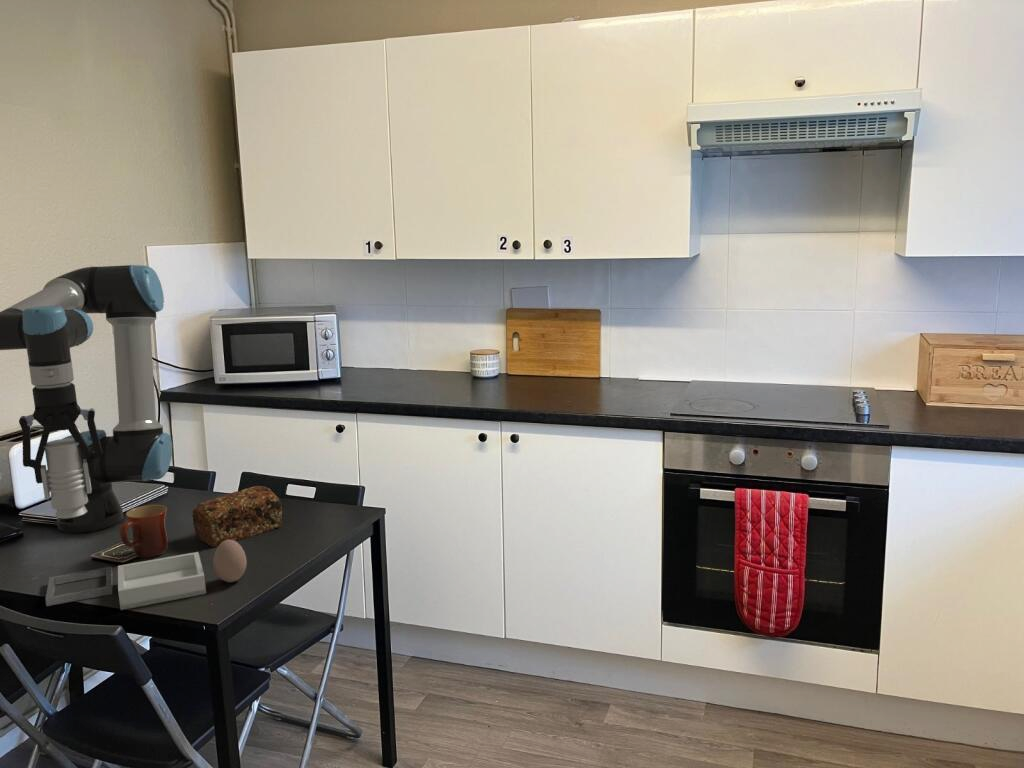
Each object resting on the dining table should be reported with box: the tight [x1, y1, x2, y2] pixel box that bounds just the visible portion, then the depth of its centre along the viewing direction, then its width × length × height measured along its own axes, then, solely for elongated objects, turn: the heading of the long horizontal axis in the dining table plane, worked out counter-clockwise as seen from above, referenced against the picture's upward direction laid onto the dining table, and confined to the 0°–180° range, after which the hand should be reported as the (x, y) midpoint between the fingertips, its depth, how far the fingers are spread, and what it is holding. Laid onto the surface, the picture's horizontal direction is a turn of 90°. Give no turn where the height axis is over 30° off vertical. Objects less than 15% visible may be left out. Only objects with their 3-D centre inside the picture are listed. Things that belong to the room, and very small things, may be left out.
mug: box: [119, 504, 169, 559], centre depth 196 cm, size 12×9×10 cm
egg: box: [212, 540, 248, 583], centre depth 181 cm, size 7×7×9 cm
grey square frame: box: [45, 566, 113, 607], centre depth 180 cm, size 12×12×2 cm
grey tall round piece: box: [44, 438, 88, 519], centre depth 176 cm, size 7×7×15 cm
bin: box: [117, 551, 207, 611], centre depth 179 cm, size 14×16×4 cm
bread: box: [191, 485, 283, 548], centre depth 209 cm, size 19×11×10 cm, turn 133°
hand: (68, 494), depth 177 cm, fingers closed on grey tall round piece, 7 cm apart
